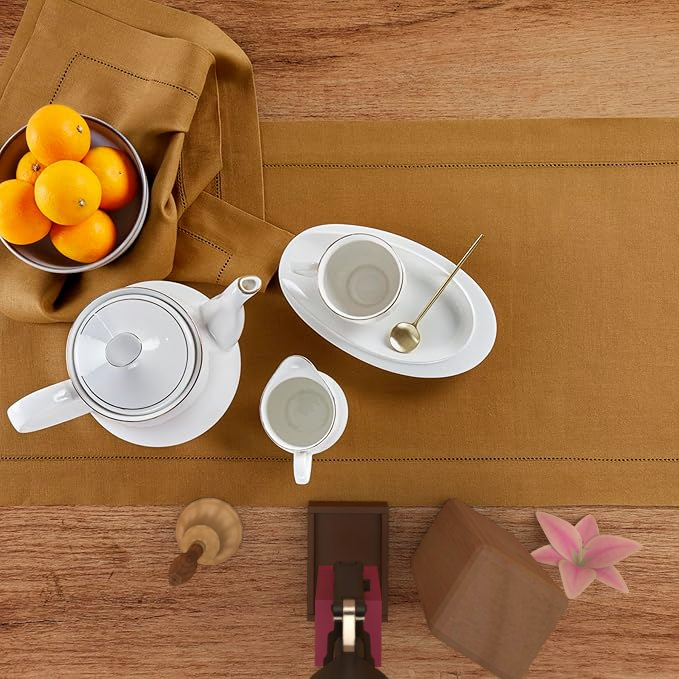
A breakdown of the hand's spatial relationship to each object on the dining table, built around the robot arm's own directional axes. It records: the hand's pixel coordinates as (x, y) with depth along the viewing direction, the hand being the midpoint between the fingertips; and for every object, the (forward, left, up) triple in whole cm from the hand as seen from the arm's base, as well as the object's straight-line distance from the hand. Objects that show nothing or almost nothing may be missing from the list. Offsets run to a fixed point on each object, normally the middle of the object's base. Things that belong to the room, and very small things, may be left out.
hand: (348, 601), depth 66 cm
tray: (0, 0, -14) cm, 14 cm away
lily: (+2, -27, -14) cm, 31 cm away
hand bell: (+3, +17, -14) cm, 22 cm away
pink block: (0, 0, -2) cm, 2 cm away
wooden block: (+1, -14, -14) cm, 20 cm away
